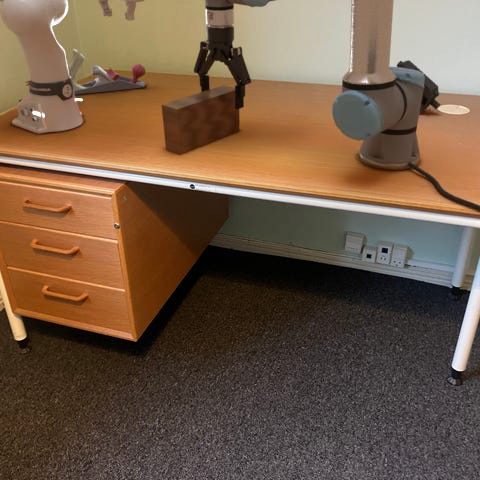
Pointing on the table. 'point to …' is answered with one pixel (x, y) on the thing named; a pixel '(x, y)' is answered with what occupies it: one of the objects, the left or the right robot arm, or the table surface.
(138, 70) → the hand plane
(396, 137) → the right robot arm
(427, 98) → the tool
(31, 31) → the left robot arm
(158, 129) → the table surface
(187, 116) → the box
